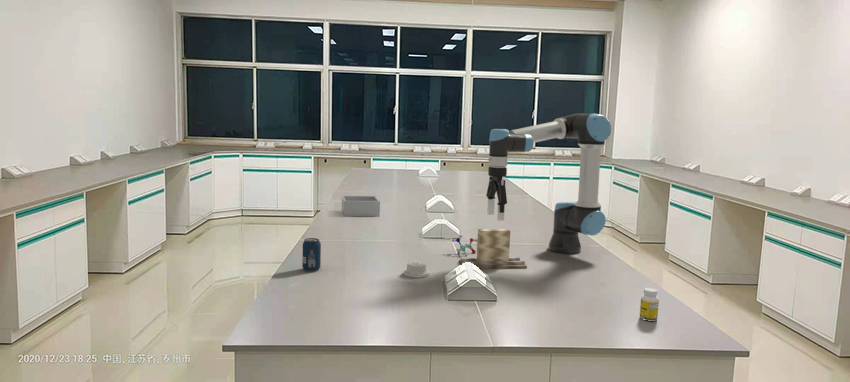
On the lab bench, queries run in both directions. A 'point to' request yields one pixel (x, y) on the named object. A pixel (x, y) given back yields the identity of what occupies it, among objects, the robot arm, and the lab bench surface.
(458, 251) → the molecular model
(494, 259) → the door panel
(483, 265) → the track board
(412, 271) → the mechanical component
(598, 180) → the robot arm
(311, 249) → the soda can
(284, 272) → the lab bench surface
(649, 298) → the supplement bottle
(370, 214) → the storage crate
